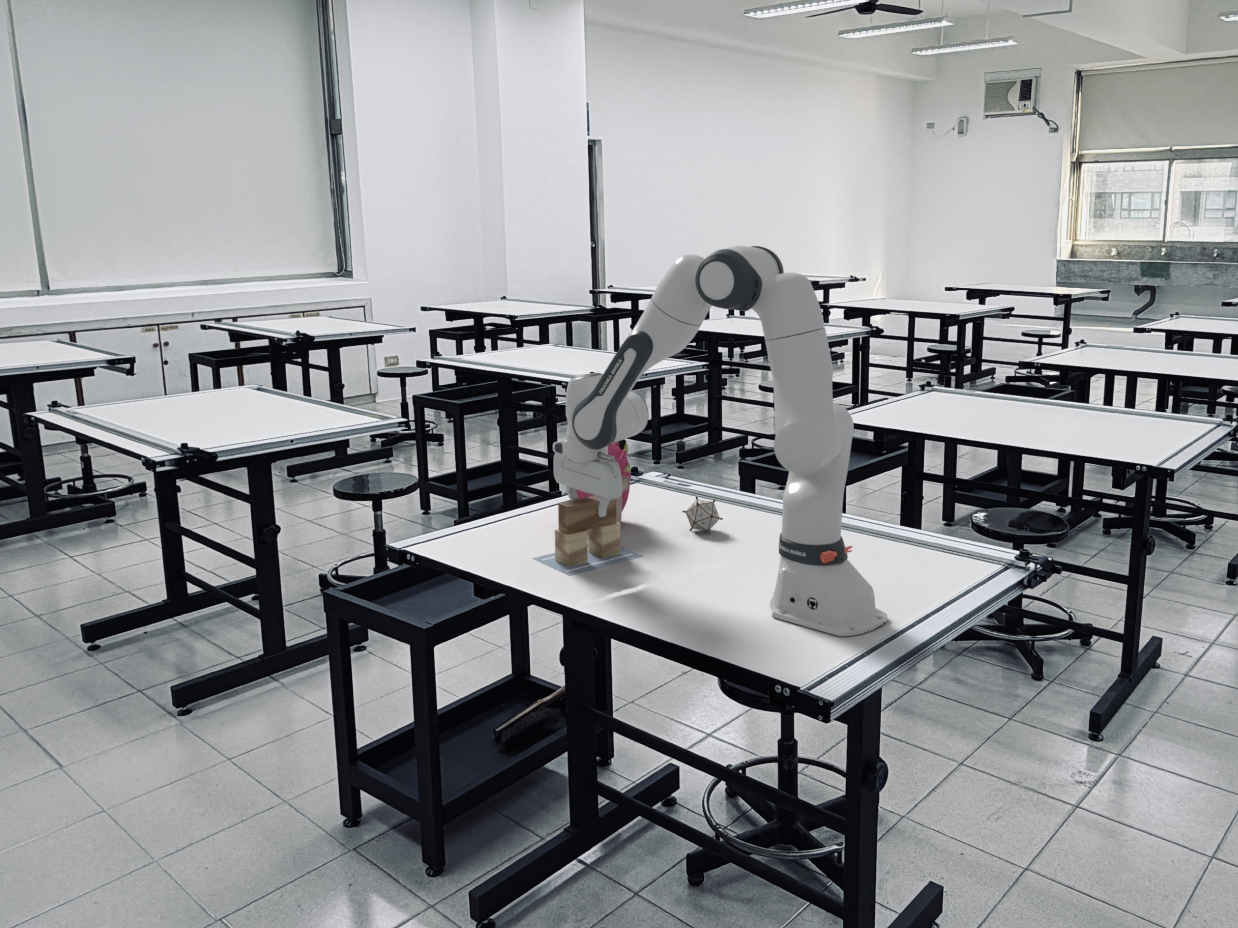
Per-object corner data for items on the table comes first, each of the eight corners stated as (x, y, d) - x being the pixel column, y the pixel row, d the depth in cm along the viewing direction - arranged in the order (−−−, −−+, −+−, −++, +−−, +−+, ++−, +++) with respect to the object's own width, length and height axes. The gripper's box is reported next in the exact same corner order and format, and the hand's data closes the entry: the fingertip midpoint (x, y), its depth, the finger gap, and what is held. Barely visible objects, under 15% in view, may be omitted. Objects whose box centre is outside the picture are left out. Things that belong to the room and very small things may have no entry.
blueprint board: (643, 559, 225) (643, 555, 224) (569, 579, 212) (569, 575, 212) (604, 543, 235) (604, 540, 235) (532, 561, 223) (532, 558, 223)
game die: (709, 545, 246) (735, 513, 244) (694, 541, 239) (720, 509, 237) (685, 520, 250) (710, 489, 248) (669, 516, 243) (695, 484, 241)
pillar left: (587, 561, 221) (587, 530, 219) (568, 566, 217) (568, 535, 216) (574, 556, 224) (573, 525, 223) (555, 560, 221) (554, 529, 220)
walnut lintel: (616, 522, 224) (616, 496, 223) (568, 534, 217) (567, 506, 215) (606, 519, 227) (606, 493, 226) (558, 530, 219) (558, 503, 218)
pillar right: (620, 553, 226) (620, 523, 224) (602, 558, 223) (602, 527, 221) (606, 547, 230) (606, 517, 228) (588, 552, 227) (588, 522, 225)
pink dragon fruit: (587, 540, 237) (586, 413, 230) (553, 527, 247) (551, 405, 240) (646, 526, 248) (646, 404, 241) (611, 513, 258) (610, 396, 251)
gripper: (629, 455, 212) (629, 519, 215) (571, 438, 227) (572, 498, 231) (605, 459, 208) (605, 524, 211) (547, 442, 224) (549, 503, 227)
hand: (587, 511), depth 221 cm, fingers open, 8 cm apart
